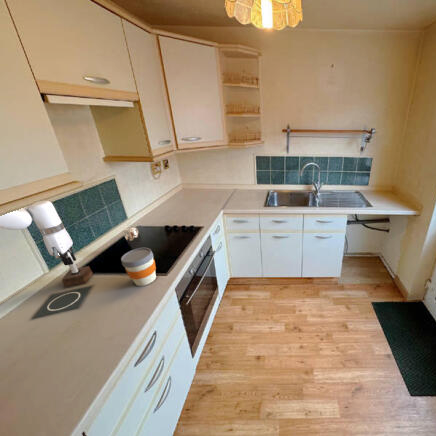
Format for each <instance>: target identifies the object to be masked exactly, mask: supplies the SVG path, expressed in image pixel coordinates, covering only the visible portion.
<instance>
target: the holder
mask: <svg viewBox="0 0 436 436" xmlns="http://www.w3.org/2000/svg"><path fill="white" fill-rule="evenodd" d="M77 269H78V271H79V273H78V274H74V275H73V273H72V271H71V269H69V270H68V271H67V272H66V273H65V275H64V276H63V277H62V278H61V282H62V284H63V285H64V288H70V287H73V286H80V285H84V284H87V283H88V281H89V280H90V279H91V277H92V275H93V271H92V269H91V268H90V265H87V266H82V267H81V266H80V267H77Z"/></svg>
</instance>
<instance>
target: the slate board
mask: <svg viewBox="0 0 436 436" xmlns="http://www.w3.org/2000/svg"><path fill="white" fill-rule="evenodd" d="M91 288H92V285H91V286H86V287H82V288H77V289H72V290H67V291H63V292H59V293H58V292H57V293H54V294H51V295H50V296H49V297H48V298H47V300H46V301H45V302H44V303H43V305H42V306H41V307H40V308H39V310H38V311H37V312H36V313H35V315H34V316H33V317H32V320H34V319H38V318H42V317H47V316H51V315H56V314H59V313H63V312H68V311H72V310H76V309H79V308H80V306H81V305H82V303H83V301H84V300H85V298H86V296H87V295H88V293H89V292H90V290H91Z"/></svg>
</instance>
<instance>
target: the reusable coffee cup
mask: <svg viewBox="0 0 436 436" xmlns="http://www.w3.org/2000/svg"><path fill="white" fill-rule="evenodd" d="M120 261H121V265H122V267H124V268H125V269H124V270H125V272H126V274H127V275H128V277H129V278H130V279H131V280H132V281H133V283H134V284H135V285H136V286H138V287H143V286H146V285H149V284H151V283H153V282H154V281H155V280H156V279H157V274H156V270H157V267H156V261H155V258H154V253H153V251H152V249H151V248H149V247H143V248H138V249H134V250H132V249H131V250H129V251H127V252H126V253H124V254H123V255H122V256H121V258H120Z"/></svg>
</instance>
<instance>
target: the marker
mask: <svg viewBox="0 0 436 436" xmlns="http://www.w3.org/2000/svg"><path fill="white" fill-rule="evenodd" d="M67 254H68V256H69V257H71V255H70V253H69V252H67ZM62 255H64V254H62ZM71 259H72V257H71ZM72 261H73V259H72ZM68 267H69V270H71V271H72V273H73V275H74V274H78V273H79V271H78V269H77V268H78V267H77V265H76V263H75V261H73V264H71V265H68Z"/></svg>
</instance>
